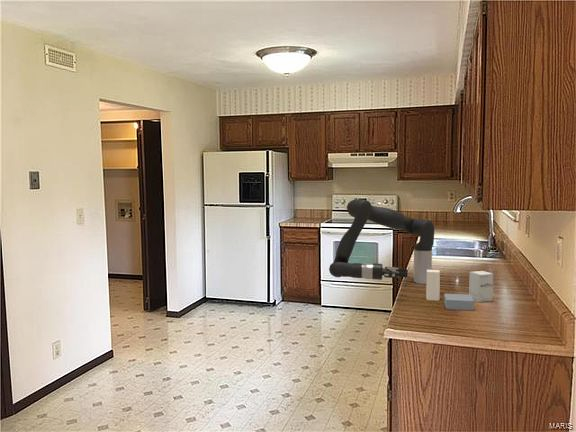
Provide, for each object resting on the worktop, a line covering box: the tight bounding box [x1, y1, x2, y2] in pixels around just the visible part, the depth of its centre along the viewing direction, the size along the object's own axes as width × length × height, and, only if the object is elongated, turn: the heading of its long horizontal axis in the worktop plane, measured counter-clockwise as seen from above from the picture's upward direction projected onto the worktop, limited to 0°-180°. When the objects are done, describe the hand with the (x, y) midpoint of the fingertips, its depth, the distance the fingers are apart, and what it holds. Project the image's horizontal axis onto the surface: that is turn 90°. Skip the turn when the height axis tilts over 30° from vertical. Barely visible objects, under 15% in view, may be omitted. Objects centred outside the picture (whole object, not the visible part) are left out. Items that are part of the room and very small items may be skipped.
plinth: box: [443, 293, 475, 311], centre depth 210 cm, size 11×11×4 cm
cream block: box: [425, 269, 441, 301], centre depth 222 cm, size 6×6×13 cm
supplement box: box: [468, 270, 494, 303], centre depth 219 cm, size 7×7×13 cm
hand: (407, 272), depth 224 cm, fingers open, 8 cm apart
